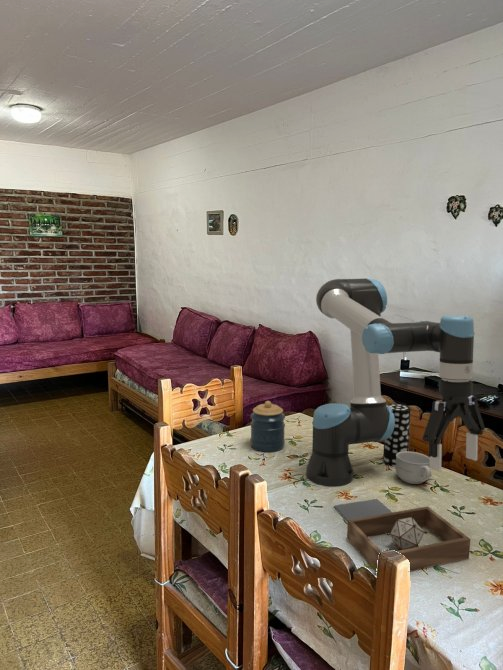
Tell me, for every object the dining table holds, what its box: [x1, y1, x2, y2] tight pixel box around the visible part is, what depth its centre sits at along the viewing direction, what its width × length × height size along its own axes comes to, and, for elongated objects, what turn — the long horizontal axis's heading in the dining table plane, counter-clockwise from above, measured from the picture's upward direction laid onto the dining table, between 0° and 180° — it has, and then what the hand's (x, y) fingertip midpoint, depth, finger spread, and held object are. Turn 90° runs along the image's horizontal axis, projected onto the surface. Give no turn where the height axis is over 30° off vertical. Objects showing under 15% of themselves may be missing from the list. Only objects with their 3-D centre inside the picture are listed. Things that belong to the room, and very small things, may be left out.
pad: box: [333, 498, 394, 523], centre depth 137 cm, size 12×14×1 cm
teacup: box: [395, 451, 432, 485], centre depth 156 cm, size 14×11×8 cm
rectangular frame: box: [346, 506, 471, 572], centre depth 121 cm, size 16×24×5 cm, turn 107°
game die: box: [386, 514, 429, 550], centre depth 120 cm, size 9×8×10 cm
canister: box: [250, 400, 286, 453], centre depth 184 cm, size 13×13×18 cm
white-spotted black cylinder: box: [382, 403, 412, 468], centre depth 170 cm, size 8×8×20 cm
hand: (454, 464), depth 121 cm, fingers open, 13 cm apart
